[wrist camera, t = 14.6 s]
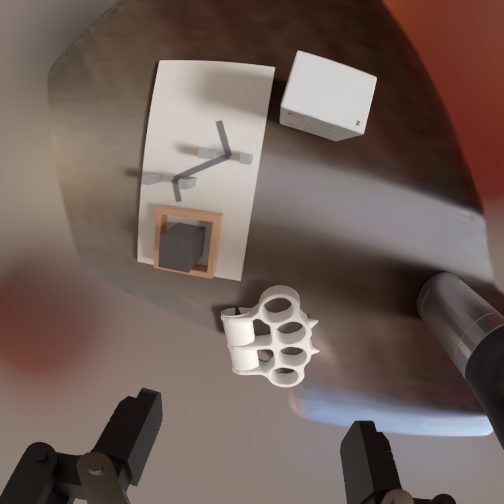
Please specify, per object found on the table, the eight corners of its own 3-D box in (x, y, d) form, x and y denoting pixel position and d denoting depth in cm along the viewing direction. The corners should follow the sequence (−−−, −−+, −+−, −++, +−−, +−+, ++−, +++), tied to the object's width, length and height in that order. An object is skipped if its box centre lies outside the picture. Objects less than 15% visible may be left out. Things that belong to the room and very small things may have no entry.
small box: (348, 100, 34) (379, 77, 22) (336, 142, 36) (364, 136, 24) (290, 81, 34) (296, 48, 22) (278, 124, 36) (279, 108, 24)
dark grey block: (205, 227, 40) (191, 241, 34) (202, 254, 42) (189, 273, 35) (178, 222, 40) (159, 235, 34) (175, 249, 42) (158, 266, 35)
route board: (274, 69, 34) (274, 58, 29) (241, 278, 43) (237, 293, 39) (162, 62, 34) (148, 52, 29) (140, 259, 44) (125, 271, 39)
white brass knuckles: (219, 288, 45) (316, 280, 43) (237, 377, 50) (319, 371, 49) (215, 299, 42) (319, 289, 40) (235, 390, 47) (321, 384, 45)
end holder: (223, 213, 40) (219, 217, 37) (215, 272, 42) (212, 279, 40) (163, 204, 40) (156, 207, 37) (159, 261, 43) (153, 267, 40)
